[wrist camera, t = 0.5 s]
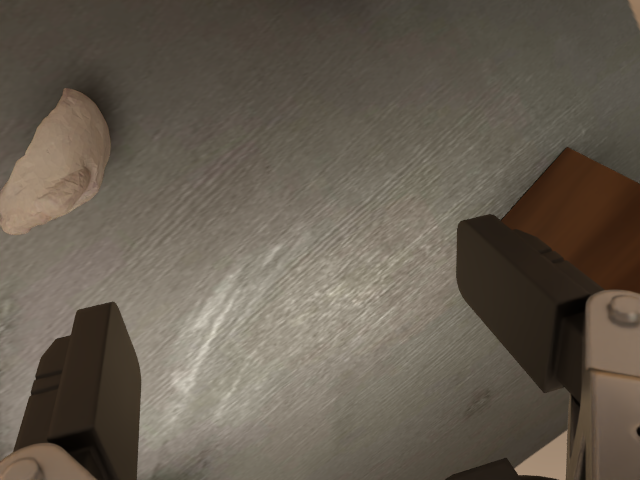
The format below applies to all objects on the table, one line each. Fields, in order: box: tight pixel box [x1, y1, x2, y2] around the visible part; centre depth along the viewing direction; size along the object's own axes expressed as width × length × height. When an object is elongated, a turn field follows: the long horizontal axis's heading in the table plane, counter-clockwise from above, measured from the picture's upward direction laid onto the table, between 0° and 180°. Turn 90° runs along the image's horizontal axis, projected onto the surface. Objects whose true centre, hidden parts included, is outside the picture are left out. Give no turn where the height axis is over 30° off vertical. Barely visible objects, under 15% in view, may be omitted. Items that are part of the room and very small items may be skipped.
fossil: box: [0, 88, 111, 235], centre depth 25 cm, size 6×4×10 cm, turn 147°
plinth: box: [501, 147, 640, 294], centre depth 35 cm, size 9×9×14 cm
